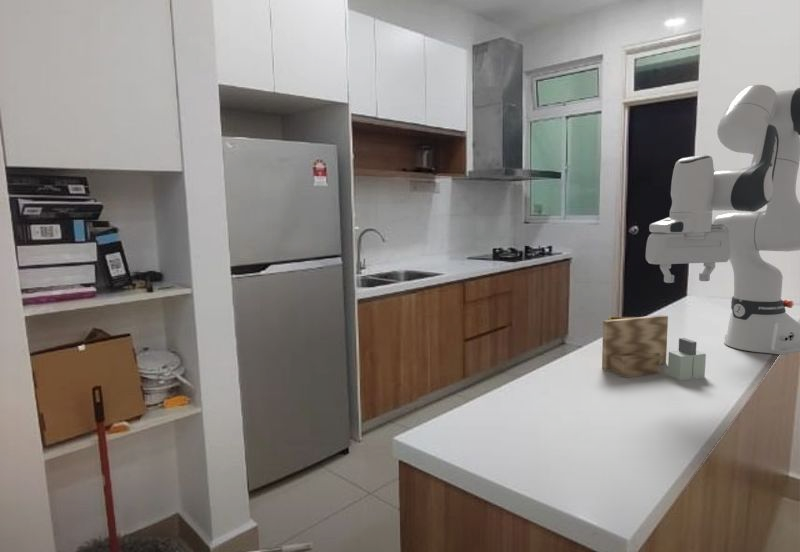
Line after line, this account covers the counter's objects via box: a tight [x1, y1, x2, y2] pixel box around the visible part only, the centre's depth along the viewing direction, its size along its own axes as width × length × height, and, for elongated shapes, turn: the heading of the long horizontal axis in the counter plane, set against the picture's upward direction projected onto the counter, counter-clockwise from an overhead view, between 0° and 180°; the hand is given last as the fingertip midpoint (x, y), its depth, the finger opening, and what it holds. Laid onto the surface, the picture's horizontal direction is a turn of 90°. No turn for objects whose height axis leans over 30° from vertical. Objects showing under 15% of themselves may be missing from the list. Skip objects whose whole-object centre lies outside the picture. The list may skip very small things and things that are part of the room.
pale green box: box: [667, 337, 707, 381], centre depth 121 cm, size 7×4×9 cm, turn 101°
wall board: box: [601, 314, 669, 379], centre depth 126 cm, size 18×8×13 cm, turn 101°
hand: (686, 281), depth 119 cm, fingers open, 8 cm apart
